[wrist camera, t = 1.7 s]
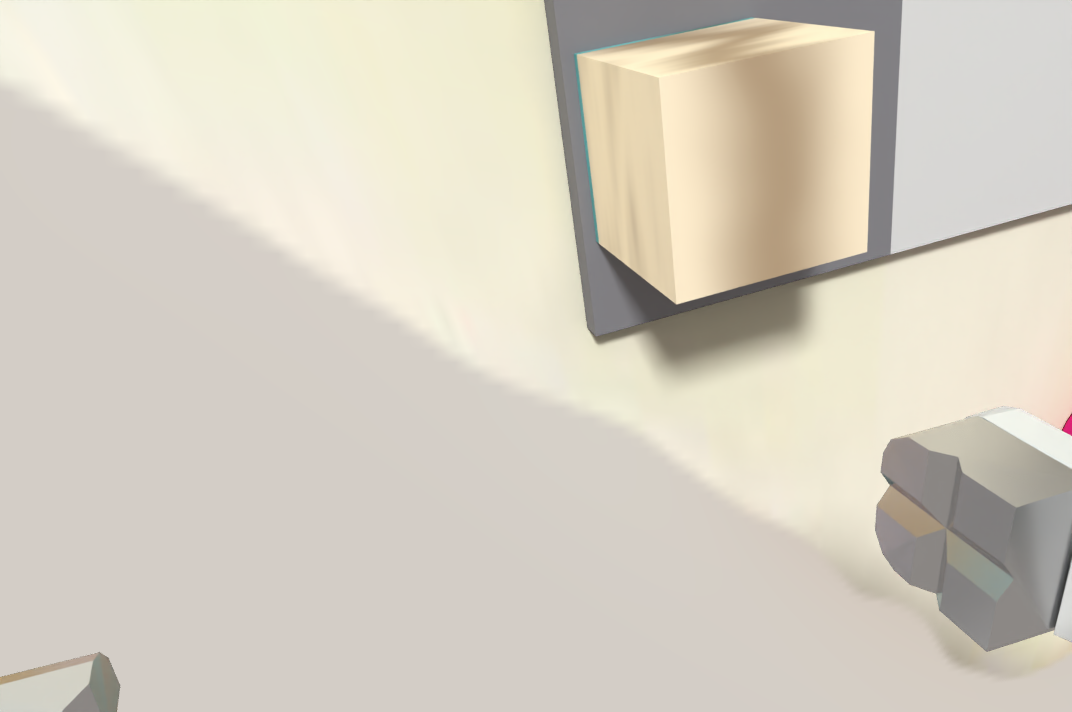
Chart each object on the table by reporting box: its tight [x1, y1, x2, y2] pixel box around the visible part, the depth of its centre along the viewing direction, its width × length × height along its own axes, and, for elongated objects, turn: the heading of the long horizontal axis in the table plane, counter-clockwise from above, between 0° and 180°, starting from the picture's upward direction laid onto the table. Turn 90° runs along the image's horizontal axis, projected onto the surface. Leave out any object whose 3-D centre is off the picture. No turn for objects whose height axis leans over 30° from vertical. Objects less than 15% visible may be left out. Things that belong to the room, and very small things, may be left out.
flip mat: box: [544, 0, 1072, 336], centre depth 35 cm, size 26×15×1 cm, turn 99°
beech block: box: [574, 17, 875, 305], centre depth 29 cm, size 7×7×7 cm
